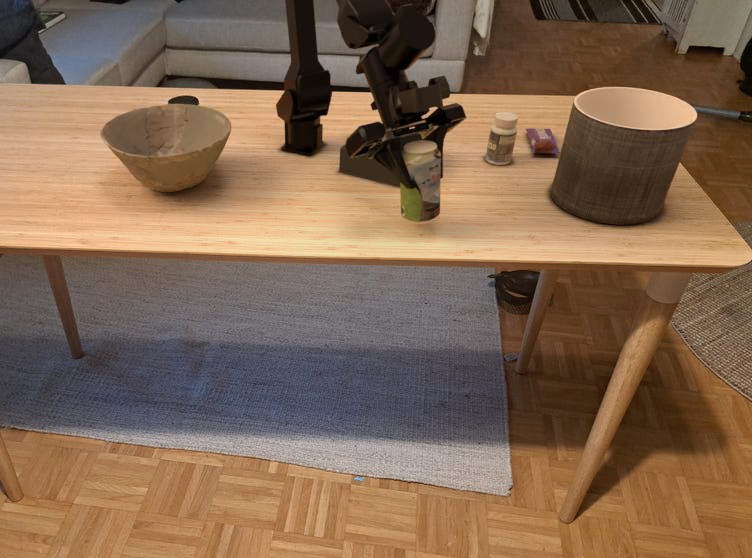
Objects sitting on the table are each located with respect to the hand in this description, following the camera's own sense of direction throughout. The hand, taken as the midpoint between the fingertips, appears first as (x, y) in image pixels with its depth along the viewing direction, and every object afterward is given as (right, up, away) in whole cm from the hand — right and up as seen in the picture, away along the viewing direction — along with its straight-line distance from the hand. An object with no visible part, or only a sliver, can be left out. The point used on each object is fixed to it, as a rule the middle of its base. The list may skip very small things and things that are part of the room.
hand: (425, 183), depth 102 cm
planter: (+33, 0, +13) cm, 36 cm away
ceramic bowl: (-42, +6, +21) cm, 47 cm away
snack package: (+29, +15, +30) cm, 44 cm away
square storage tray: (-2, +9, +24) cm, 26 cm away
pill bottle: (+19, +11, +25) cm, 33 cm away
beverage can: (0, -4, +6) cm, 7 cm away
